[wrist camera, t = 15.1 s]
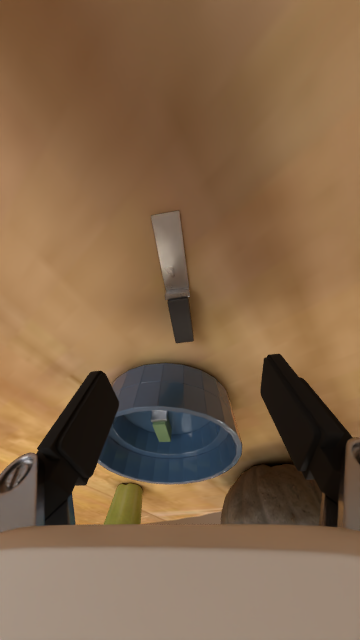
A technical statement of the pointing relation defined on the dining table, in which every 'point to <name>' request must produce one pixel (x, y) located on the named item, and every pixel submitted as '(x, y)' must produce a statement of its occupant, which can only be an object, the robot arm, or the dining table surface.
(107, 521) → the plant pot
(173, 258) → the black knife
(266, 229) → the dining table surface
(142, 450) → the bowl
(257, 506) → the gourd
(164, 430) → the green knife
